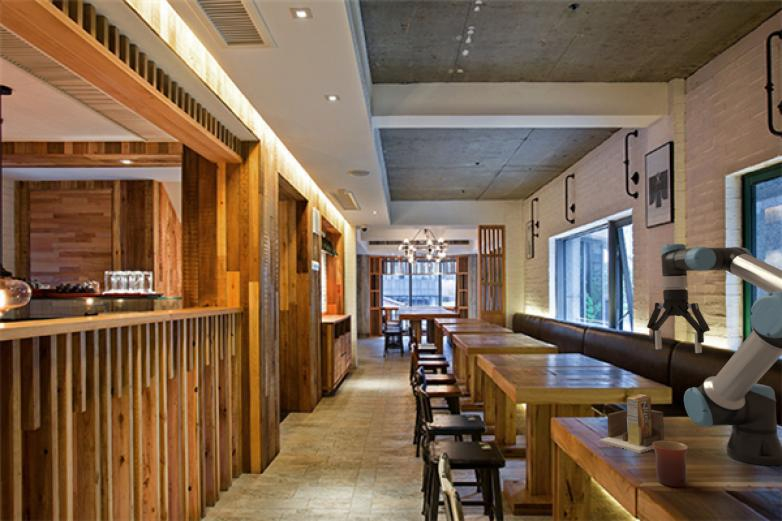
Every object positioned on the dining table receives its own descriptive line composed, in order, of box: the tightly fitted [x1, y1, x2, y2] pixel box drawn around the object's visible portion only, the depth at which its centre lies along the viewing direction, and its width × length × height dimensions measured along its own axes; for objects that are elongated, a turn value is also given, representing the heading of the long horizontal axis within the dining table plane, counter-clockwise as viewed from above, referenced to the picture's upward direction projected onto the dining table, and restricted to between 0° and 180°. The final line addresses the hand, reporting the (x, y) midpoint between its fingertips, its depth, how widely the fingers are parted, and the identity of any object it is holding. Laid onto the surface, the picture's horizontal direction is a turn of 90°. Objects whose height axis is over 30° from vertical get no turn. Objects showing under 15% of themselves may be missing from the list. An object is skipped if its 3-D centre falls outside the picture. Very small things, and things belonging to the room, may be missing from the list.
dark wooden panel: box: [607, 409, 628, 438], centre depth 185 cm, size 1×10×9 cm, turn 123°
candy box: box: [626, 393, 652, 445], centre depth 177 cm, size 9×4×15 cm, turn 128°
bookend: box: [623, 409, 665, 447], centre depth 178 cm, size 9×10×11 cm
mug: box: [652, 440, 689, 488], centre depth 144 cm, size 12×9×10 cm
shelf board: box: [599, 435, 654, 454], centre depth 178 cm, size 15×15×1 cm
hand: (678, 350), depth 178 cm, fingers open, 13 cm apart
